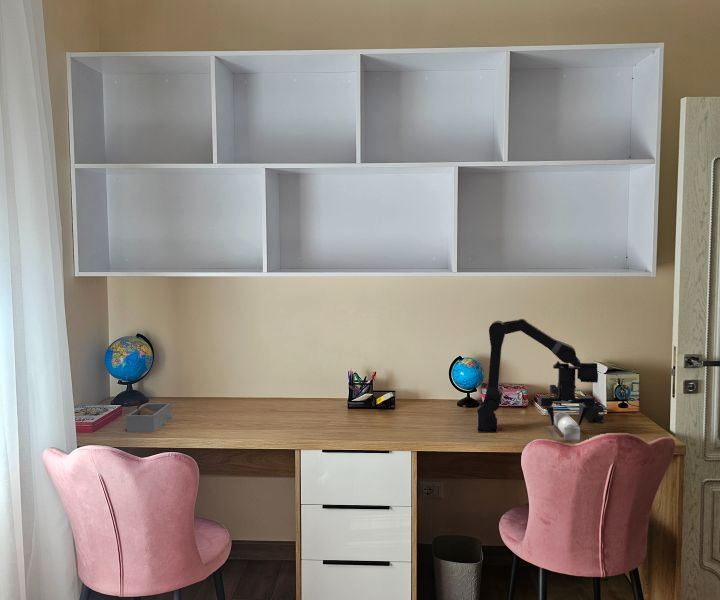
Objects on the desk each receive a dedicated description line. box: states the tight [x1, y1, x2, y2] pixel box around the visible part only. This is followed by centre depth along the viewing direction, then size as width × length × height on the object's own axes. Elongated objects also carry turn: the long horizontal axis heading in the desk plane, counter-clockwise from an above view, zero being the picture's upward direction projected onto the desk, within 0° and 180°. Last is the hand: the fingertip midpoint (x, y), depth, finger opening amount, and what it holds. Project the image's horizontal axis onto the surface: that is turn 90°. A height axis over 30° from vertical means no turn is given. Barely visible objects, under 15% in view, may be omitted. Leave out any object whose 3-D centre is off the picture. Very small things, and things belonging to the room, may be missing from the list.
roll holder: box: [544, 414, 588, 444], centre depth 247 cm, size 11×18×5 cm, turn 177°
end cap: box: [584, 401, 605, 424], centre depth 269 cm, size 10×7×7 cm
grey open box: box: [128, 400, 165, 426], centre depth 264 cm, size 14×4×9 cm, turn 75°
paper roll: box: [554, 411, 580, 434], centre depth 247 cm, size 6×12×6 cm, turn 177°
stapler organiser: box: [125, 402, 172, 433], centre depth 264 cm, size 10×20×6 cm, turn 177°
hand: (565, 425), depth 247 cm, fingers open, 9 cm apart
